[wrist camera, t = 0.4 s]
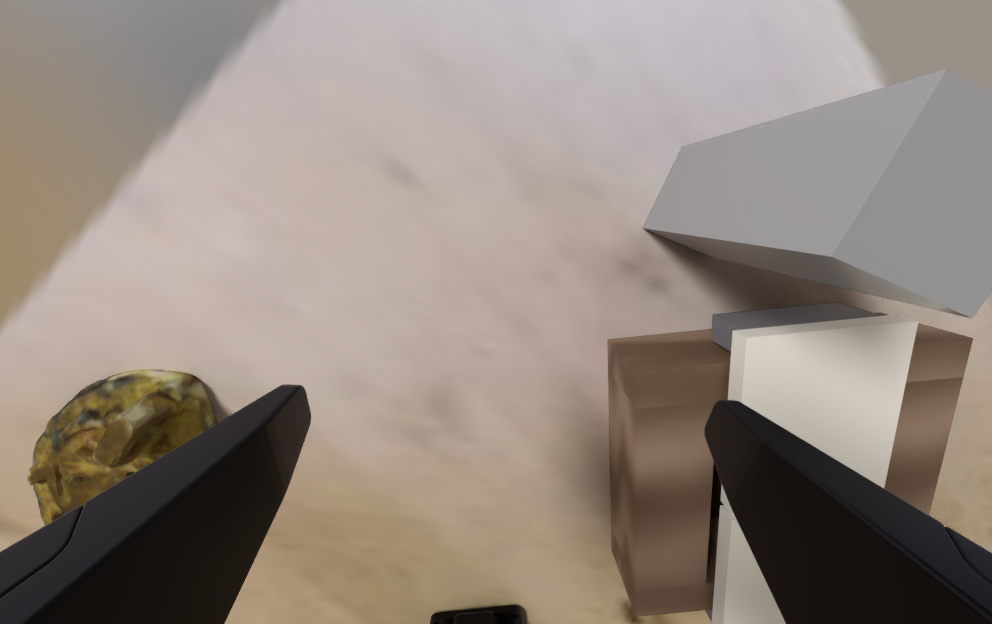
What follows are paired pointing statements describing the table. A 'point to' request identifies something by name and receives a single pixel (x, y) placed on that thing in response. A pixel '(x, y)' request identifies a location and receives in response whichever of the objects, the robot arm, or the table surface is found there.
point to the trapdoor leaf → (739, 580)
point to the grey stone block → (851, 194)
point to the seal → (114, 435)
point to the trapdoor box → (689, 464)
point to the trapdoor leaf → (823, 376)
